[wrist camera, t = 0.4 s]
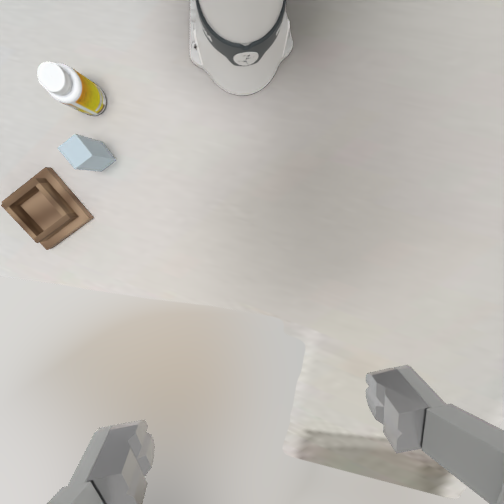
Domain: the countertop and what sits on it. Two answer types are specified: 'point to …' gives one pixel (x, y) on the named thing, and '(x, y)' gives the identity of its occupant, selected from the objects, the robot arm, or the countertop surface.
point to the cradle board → (46, 209)
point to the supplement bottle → (71, 88)
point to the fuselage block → (86, 153)
